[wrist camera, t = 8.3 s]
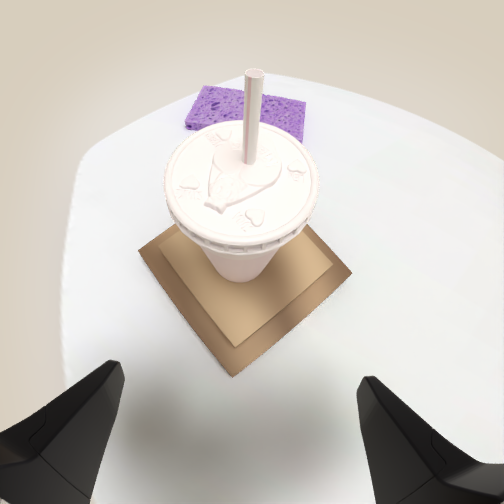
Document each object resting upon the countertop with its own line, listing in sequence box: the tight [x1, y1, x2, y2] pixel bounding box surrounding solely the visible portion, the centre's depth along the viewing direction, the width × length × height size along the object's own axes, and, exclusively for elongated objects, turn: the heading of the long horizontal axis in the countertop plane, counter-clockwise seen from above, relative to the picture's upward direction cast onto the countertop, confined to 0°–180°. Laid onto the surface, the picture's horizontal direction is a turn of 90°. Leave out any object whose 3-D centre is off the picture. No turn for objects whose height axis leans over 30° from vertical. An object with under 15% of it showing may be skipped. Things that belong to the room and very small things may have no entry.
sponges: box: [185, 86, 306, 144], centre depth 29 cm, size 7×13×2 cm, turn 78°
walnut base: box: [138, 224, 352, 378], centre depth 21 cm, size 12×12×3 cm
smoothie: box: [163, 69, 319, 283], centre depth 13 cm, size 6×6×14 cm
